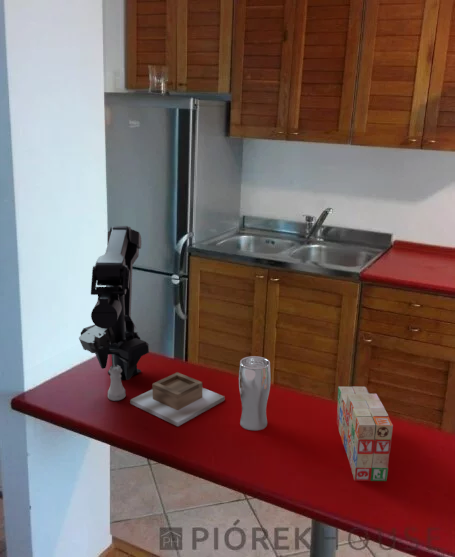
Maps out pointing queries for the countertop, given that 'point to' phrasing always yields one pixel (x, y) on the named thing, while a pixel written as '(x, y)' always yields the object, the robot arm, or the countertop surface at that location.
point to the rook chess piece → (116, 384)
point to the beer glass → (254, 391)
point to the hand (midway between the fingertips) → (115, 373)
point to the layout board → (182, 412)
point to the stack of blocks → (364, 433)
